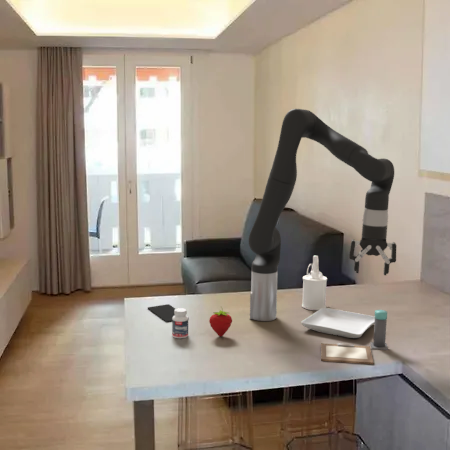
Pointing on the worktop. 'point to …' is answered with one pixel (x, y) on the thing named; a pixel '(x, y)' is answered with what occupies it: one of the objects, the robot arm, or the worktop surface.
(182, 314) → the pill bottle
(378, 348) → the coaster
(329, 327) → the salad plate
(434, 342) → the worktop surface
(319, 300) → the white nozzle bottle
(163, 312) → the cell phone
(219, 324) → the strawberry
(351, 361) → the clipboard
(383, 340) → the marker
